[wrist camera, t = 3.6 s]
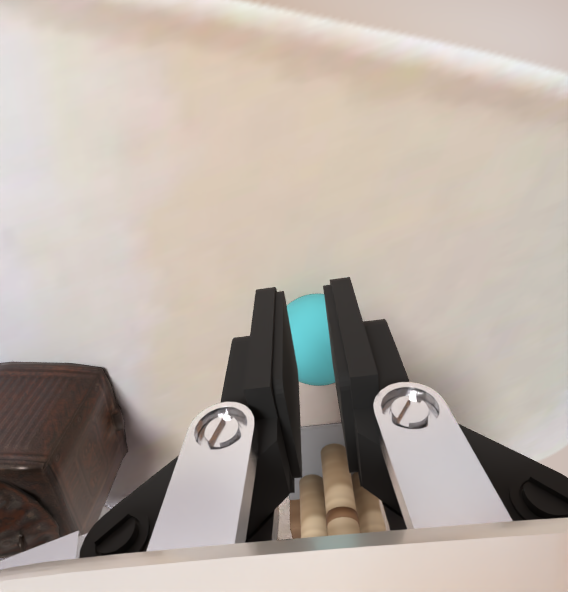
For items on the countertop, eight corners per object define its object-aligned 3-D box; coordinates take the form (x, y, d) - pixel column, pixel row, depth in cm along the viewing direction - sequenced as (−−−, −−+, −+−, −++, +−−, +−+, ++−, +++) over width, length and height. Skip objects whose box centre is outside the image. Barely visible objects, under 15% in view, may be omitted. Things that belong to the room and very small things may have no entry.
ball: (266, 283, 28) (262, 335, 23) (353, 272, 28) (369, 321, 22) (280, 351, 31) (279, 410, 26) (358, 342, 31) (373, 400, 25)
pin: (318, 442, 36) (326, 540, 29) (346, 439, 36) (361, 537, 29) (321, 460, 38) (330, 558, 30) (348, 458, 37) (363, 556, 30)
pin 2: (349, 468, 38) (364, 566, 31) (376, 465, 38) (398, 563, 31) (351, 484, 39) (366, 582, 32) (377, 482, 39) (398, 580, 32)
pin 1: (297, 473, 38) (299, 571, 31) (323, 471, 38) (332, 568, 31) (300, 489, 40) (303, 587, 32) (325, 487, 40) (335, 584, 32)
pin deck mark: (273, 429, 35) (273, 431, 35) (388, 417, 35) (388, 419, 34) (289, 498, 40) (289, 500, 40) (390, 489, 40) (391, 491, 39)
